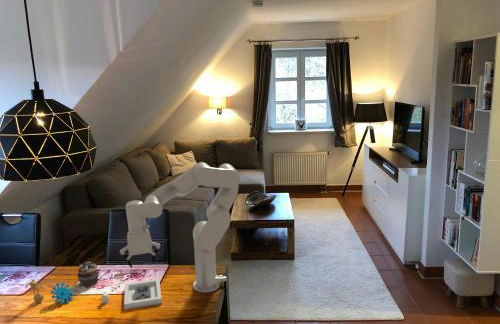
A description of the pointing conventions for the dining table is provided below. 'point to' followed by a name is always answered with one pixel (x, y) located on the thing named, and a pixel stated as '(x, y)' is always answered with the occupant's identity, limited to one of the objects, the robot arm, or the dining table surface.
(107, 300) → the white rounded knob
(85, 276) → the cupcake
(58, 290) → the blue virus model
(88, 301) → the dining table surface
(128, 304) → the tray
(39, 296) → the figurine
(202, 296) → the dining table surface
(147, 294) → the grey square frame
